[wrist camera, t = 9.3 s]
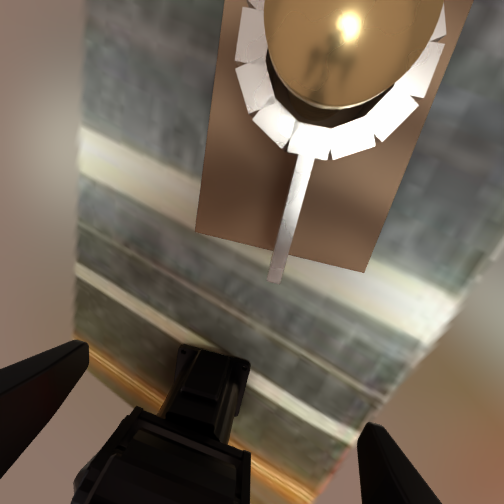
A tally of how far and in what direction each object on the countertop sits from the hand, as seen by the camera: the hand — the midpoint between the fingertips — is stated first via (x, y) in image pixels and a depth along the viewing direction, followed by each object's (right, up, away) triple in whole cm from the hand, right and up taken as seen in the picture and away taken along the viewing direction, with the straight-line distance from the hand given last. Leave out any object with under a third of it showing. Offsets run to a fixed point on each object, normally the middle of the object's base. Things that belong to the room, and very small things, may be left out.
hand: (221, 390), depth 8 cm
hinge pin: (+5, +14, +6) cm, 16 cm away
